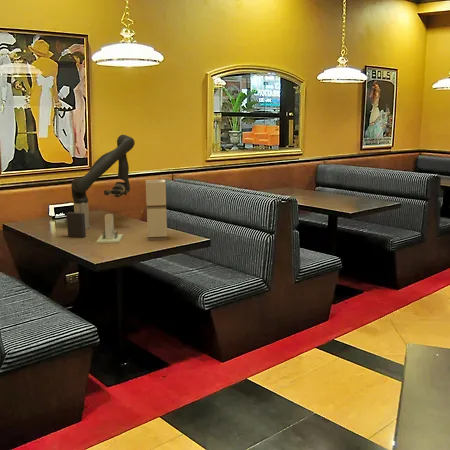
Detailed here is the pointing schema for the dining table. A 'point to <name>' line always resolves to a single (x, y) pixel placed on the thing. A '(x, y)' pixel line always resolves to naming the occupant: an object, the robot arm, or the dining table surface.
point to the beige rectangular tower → (156, 209)
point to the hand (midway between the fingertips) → (114, 194)
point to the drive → (109, 226)
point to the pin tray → (115, 239)
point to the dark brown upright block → (76, 224)
